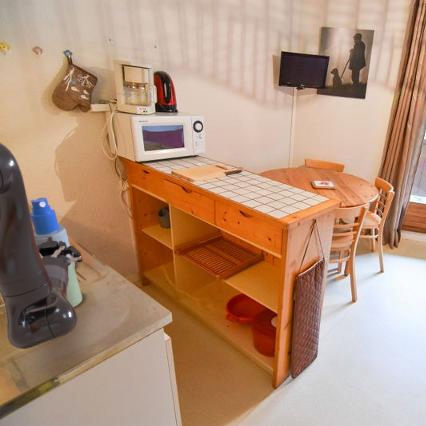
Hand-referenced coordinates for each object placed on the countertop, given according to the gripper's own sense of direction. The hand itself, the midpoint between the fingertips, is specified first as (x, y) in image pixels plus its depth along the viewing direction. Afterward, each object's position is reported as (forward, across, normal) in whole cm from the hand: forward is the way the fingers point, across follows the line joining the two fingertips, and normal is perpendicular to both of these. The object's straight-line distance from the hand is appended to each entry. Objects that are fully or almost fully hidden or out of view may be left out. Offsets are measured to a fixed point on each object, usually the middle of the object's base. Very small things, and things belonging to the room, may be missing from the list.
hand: (50, 245), depth 87 cm
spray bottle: (+18, +2, +18) cm, 26 cm away
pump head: (-1, 0, +2) cm, 3 cm away
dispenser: (-3, 0, +17) cm, 18 cm away
